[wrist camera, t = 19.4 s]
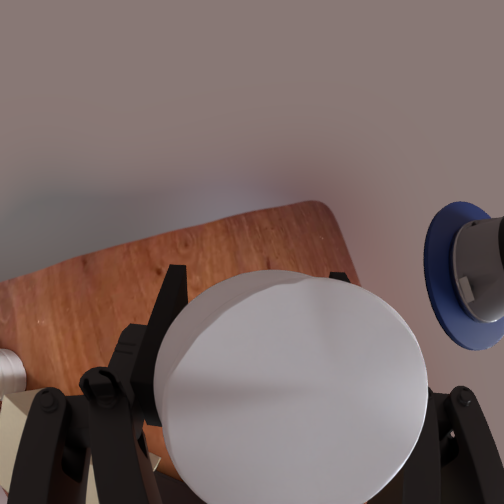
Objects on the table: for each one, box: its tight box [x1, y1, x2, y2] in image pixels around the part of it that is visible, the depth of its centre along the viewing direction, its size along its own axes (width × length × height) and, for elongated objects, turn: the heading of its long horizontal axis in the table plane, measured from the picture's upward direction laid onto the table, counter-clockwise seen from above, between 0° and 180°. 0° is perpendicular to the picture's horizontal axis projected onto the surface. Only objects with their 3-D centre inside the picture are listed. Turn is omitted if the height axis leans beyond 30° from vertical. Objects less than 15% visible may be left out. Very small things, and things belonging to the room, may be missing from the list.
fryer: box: [0, 387, 161, 504], centre depth 18 cm, size 16×14×9 cm
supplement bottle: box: [154, 270, 428, 504], centre depth 10 cm, size 7×7×13 cm
